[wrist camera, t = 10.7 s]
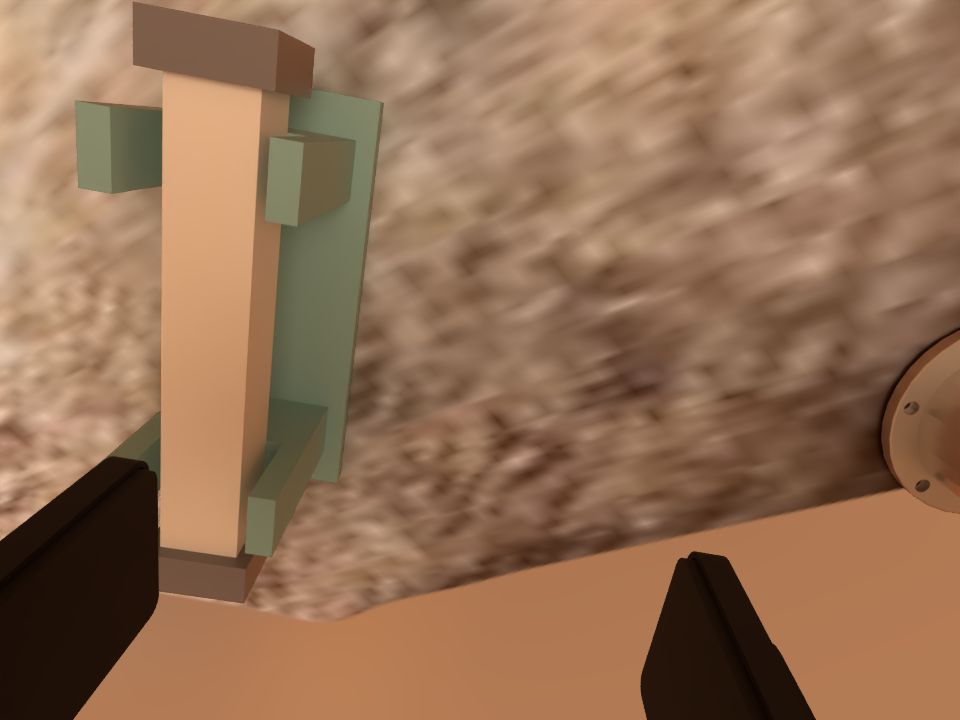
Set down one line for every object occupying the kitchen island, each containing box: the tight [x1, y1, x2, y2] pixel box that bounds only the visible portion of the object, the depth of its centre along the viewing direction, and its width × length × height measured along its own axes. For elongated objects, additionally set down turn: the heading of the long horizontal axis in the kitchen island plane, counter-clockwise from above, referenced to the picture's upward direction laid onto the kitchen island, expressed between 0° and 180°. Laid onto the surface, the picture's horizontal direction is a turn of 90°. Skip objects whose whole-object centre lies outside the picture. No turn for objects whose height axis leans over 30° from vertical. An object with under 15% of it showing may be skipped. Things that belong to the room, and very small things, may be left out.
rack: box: [75, 89, 384, 557], centre depth 30 cm, size 10×22×11 cm, turn 170°
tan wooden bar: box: [133, 2, 315, 603], centre depth 28 cm, size 5×25×5 cm, turn 170°
